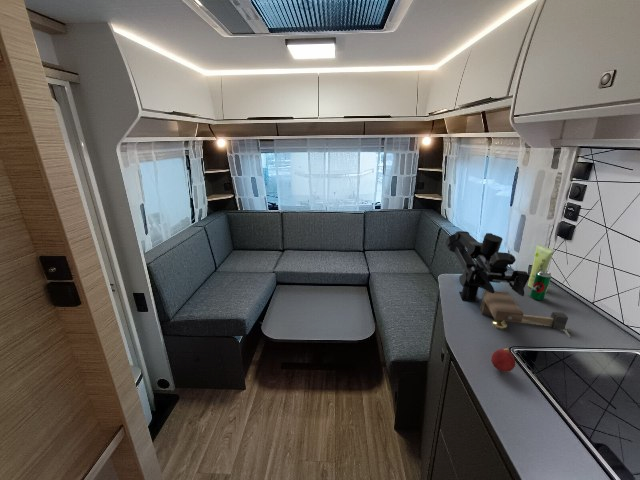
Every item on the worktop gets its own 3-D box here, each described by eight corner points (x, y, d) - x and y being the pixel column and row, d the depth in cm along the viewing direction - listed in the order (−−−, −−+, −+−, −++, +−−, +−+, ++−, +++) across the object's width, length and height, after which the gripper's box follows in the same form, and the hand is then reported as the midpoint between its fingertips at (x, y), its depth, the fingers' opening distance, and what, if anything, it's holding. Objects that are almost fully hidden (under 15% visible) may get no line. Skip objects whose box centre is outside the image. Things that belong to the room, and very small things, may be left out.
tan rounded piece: (490, 321, 108) (491, 318, 107) (503, 323, 107) (504, 319, 106) (494, 329, 103) (495, 325, 103) (508, 330, 103) (508, 327, 102)
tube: (525, 287, 131) (537, 247, 124) (526, 282, 134) (537, 243, 127) (541, 291, 128) (554, 250, 121) (541, 286, 131) (553, 246, 125)
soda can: (546, 301, 120) (554, 275, 115) (532, 300, 121) (540, 274, 116) (540, 295, 124) (548, 270, 120) (527, 293, 125) (534, 268, 121)
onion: (493, 377, 83) (500, 354, 80) (485, 362, 88) (491, 340, 86) (515, 379, 82) (522, 357, 80) (506, 364, 88) (512, 342, 85)
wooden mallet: (508, 318, 109) (511, 307, 107) (559, 324, 106) (563, 312, 104) (511, 323, 106) (515, 311, 105) (564, 329, 103) (568, 317, 101)
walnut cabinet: (479, 310, 114) (484, 290, 111) (502, 312, 112) (507, 292, 109) (492, 334, 100) (498, 312, 97) (518, 338, 99) (524, 315, 95)
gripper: (469, 244, 103) (486, 270, 89) (524, 249, 102) (550, 276, 88) (460, 270, 108) (475, 298, 95) (512, 274, 107) (534, 303, 94)
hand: (508, 293), depth 93 cm, fingers open, 9 cm apart
